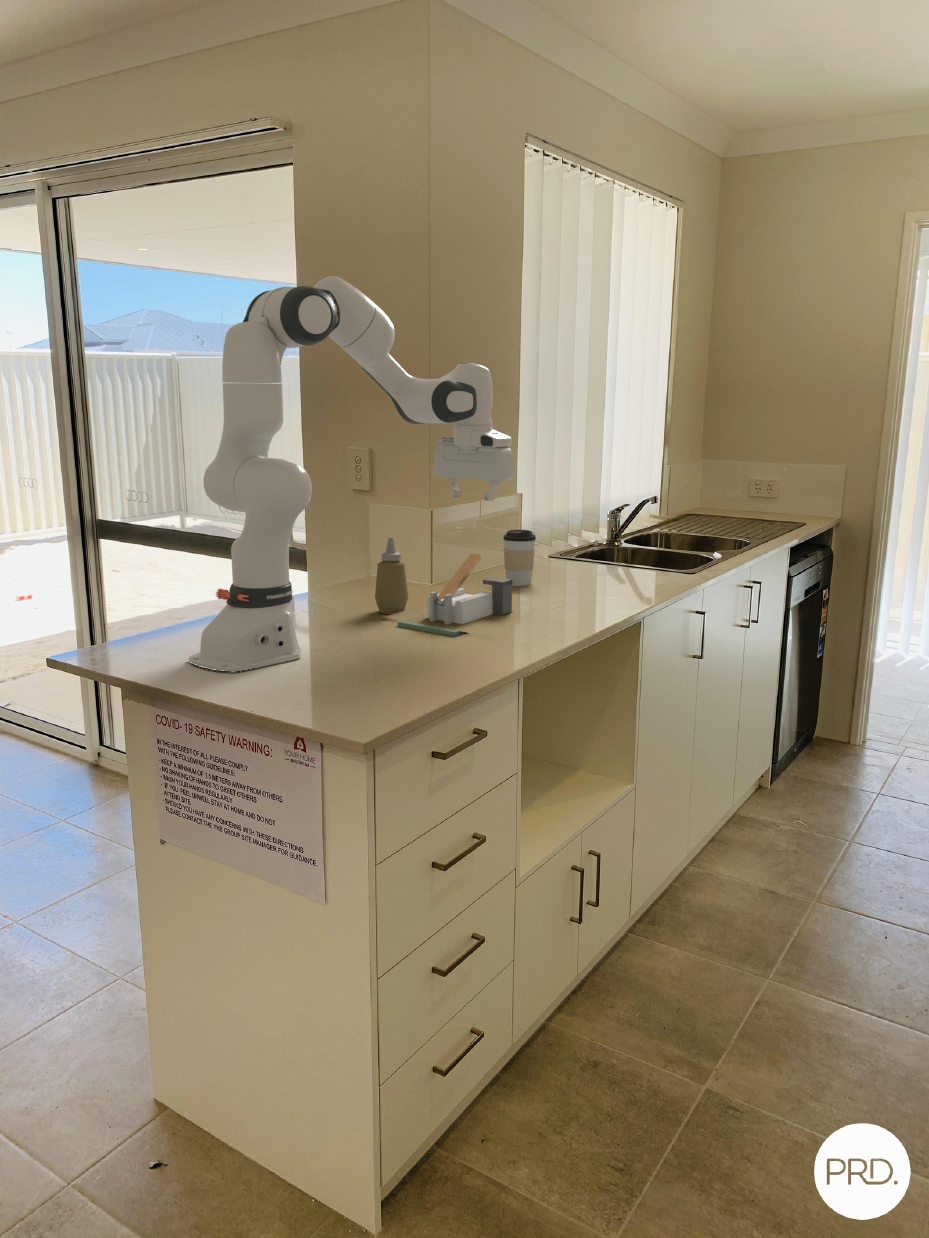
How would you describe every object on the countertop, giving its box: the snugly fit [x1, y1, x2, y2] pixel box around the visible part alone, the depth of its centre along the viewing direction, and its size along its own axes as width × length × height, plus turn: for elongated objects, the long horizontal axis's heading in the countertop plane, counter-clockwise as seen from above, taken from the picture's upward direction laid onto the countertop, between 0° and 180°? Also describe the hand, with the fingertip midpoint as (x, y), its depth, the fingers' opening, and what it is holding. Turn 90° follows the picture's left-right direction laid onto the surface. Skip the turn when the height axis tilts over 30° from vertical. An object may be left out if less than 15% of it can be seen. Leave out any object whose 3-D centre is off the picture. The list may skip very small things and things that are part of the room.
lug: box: [482, 576, 513, 616], centre depth 221 cm, size 4×6×8 cm
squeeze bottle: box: [374, 537, 409, 615], centre depth 224 cm, size 8×8×18 cm
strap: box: [435, 553, 482, 606], centre depth 215 cm, size 17×3×1 cm
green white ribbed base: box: [397, 587, 508, 638], centre depth 217 cm, size 26×16×8 cm, turn 145°
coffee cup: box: [502, 529, 537, 587], centre depth 259 cm, size 9×9×15 cm
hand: (472, 499), depth 215 cm, fingers open, 8 cm apart
